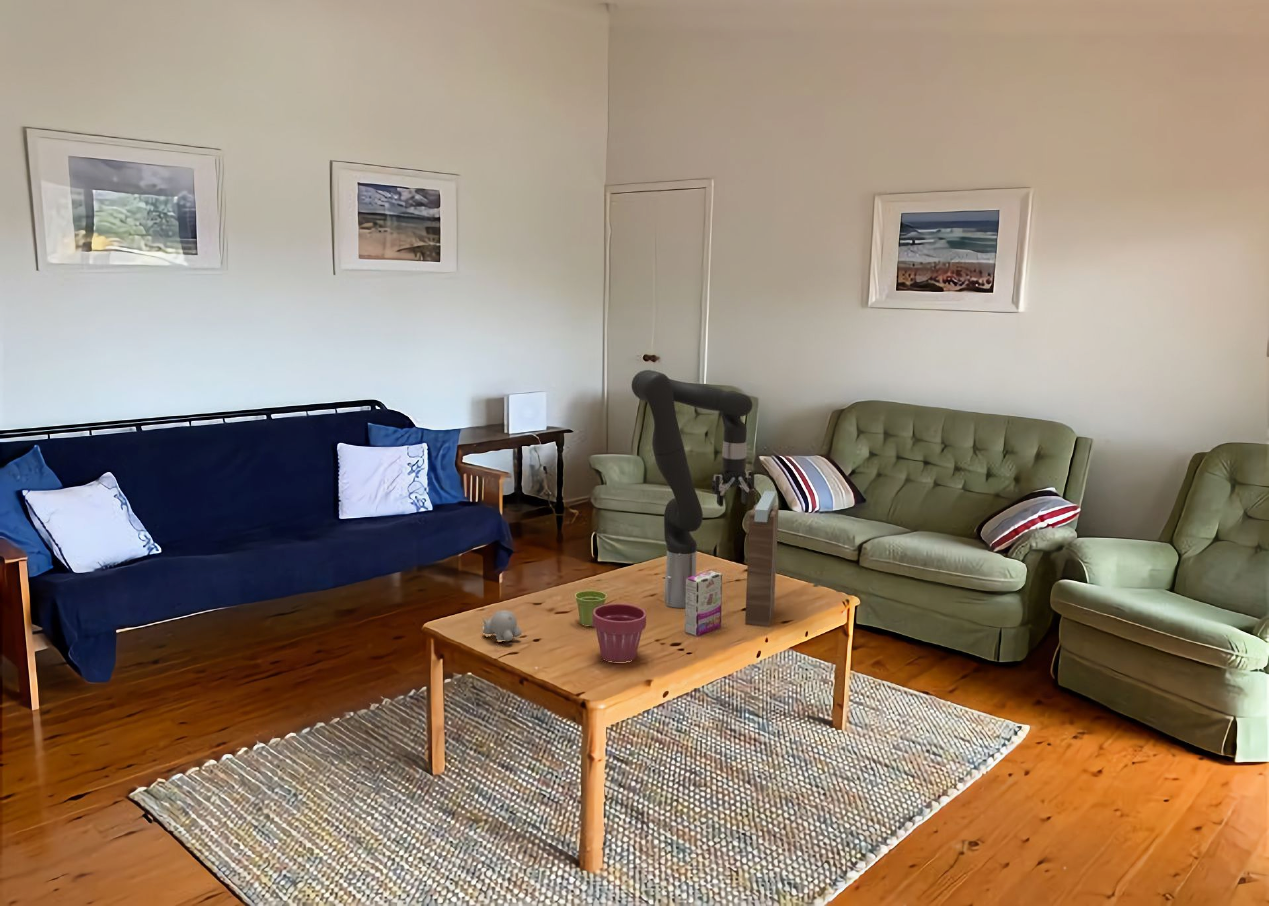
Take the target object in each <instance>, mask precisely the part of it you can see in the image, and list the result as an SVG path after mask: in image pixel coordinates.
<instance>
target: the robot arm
mask: <svg viewBox="0 0 1269 906" xmlns="http://www.w3.org/2000/svg"><path fill="white" fill-rule="evenodd" d="M631 390H632V392H633V394H634V395H635V397H637V399H639V400H641V401H644V402H647V403H648V405H649V408H650V410H651V413H652V418H653V433H652V440H651V442H652V443H651V446H652V451H653V456H654V459H655V464H656V466H657V468H658V470H659V472H660V474H661V475H662V478H664V480H665V482H666V483H667V484H668V486H669V488H670V490H671V492H672V494H673V496H674V498H672V499H670V500H669V501H668V502H667V504H666V506H665V508H664V515H663V529H664V530H663V531H664V541H665V544H666V569H665V570H666V571H665V573H664V602H665V605H666V607H670V608H676V609H678V608H679V609H685V603H686V602H685V595H686V578H689V577H692V576H695V575H697V554H698V553H697V552H698V551H697V549H698V545H697V544H698V543H697V541H696V540H695V539H694V538H693V536H692V534H691V532H696V531H697V530H699V528H700V527H701V525H702V523H703V518H704V515H703V509H702V505H701V503H700V500H699V497H698V493H697V491H696V489H695V486H694V482H693V479H692V478H693V477H692V474H691V471H690V468H689V467H690V466H689V463H688V459H687V458H688V457H687V454H686V450H685V445H684V442H683V438H682V435H681V429H680V425H679V421H678V418H677V414H676V406H675V402H676V403H679V404H684V405H686V406H690V407H692V408H699V409H703V410H707V411H713V412H714V411H715V412H720V414H721V418H722V419H721V421H722V423H723V443H722V453H721V471H722V472H721V474H716V473H714V474H712V477H711V478H712V479H711V480H712V481H711V490H710V491H711V493H712V494H715V495H716V504H717V505H718V507H721V508H723V507H724V494H725V493H726V491H728V490H729V489H730V488H734V487H740V488H741V498H740V501H741V503H742V504H747V502H748V500H749V492H750V491H751V490H752V491H753V490H754V489H755V471H752V470H750V469H748V470H747V468H746V467H747V448H748V447H747V432H748V429H747V425H746V423H745V422H743V421H742V418H741V417H745V416H747V415H749V413H750V412H751V411H752V410H753V405H754V404H753V401H752V399H751V397H750V396H749V395H748V394H745V393H743V392H739V391H735V390H724V389H721V388H718V387H715V386H710V385H709V386H708V385H705V384H704V385H703V384H698V383H692V382H685V381H679V380H675V379H671V378H669V377H668V376H667V375H666V374H664V373H662V372H660V371H656V370H652V369H651V370H650V369H643V370H640V371H638V372H637V373H636V374H635V375H634V377H632V380H631ZM746 470H747V471H746ZM745 478H746V481H745ZM720 482H721V483H720Z"/></svg>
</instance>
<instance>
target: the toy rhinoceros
mask: <svg viewBox="0 0 1269 906" xmlns="http://www.w3.org/2000/svg"><path fill="white" fill-rule="evenodd" d="M482 621H483V623H484V624H483V625H482V626H481V627H482V634H483V633H485V634H492V635H494V634H495V640H496V639H497V640H505V642H509V641H512V640H513V639H514V638H518V637H520V636H522V630H521V628H520V626H518V624H517V623H518V622H517V618H516V616H515V614H514V613H513V612H511V611H510V610H506V609H503V610H502V609H501V610H498V611H496V612H495V613H494V614H493V615H492V616H490V618H489V619H487V620H486V619H482Z"/></svg>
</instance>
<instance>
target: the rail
mask: <svg viewBox="0 0 1269 906" xmlns="http://www.w3.org/2000/svg"><path fill="white" fill-rule="evenodd" d="M776 503H777V491H774V490H764V492H763V494H762V496H761V498H760V499H759V501H758V503H757V504H758V505H757V506H756V508H755V519H754V521H757V522H767V520H768V518H769V516H770V514H771V512H772V510H773V508H774V505H775V506H776Z"/></svg>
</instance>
